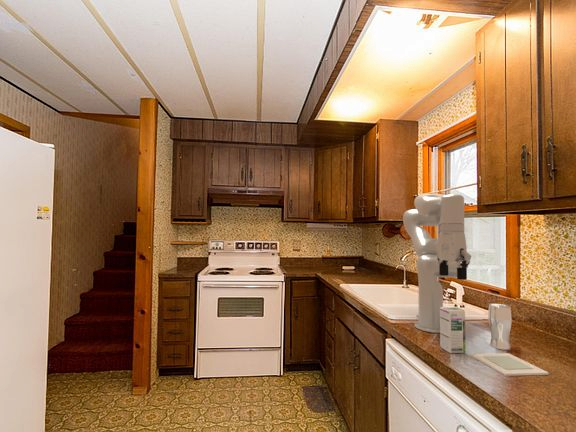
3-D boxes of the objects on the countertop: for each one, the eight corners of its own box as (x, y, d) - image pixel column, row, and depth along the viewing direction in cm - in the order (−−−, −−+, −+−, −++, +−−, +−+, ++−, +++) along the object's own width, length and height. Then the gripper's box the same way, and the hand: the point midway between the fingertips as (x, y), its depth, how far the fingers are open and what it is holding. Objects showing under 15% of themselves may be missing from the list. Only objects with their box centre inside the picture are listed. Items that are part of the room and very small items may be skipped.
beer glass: (489, 342, 114) (489, 302, 115) (512, 346, 109) (511, 305, 110) (487, 347, 108) (487, 305, 109) (511, 352, 104) (510, 308, 105)
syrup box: (450, 353, 102) (450, 310, 102) (439, 346, 107) (439, 306, 108) (465, 353, 102) (465, 310, 103) (454, 346, 108) (454, 306, 109)
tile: (470, 355, 100) (470, 353, 100) (508, 355, 102) (508, 352, 102) (505, 375, 86) (505, 373, 86) (548, 374, 88) (548, 371, 88)
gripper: (428, 229, 115) (428, 273, 114) (458, 228, 98) (459, 281, 97) (446, 229, 116) (446, 274, 115) (479, 229, 99) (480, 281, 98)
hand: (452, 277), depth 106 cm, fingers open, 9 cm apart
